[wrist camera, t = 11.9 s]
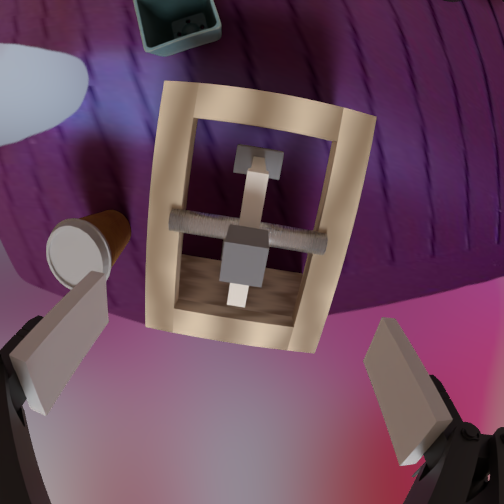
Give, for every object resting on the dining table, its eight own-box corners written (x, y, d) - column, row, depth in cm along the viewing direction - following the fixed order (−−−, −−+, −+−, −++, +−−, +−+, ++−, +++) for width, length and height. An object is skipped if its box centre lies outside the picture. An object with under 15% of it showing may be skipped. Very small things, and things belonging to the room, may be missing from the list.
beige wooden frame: (334, 122, 38) (380, 116, 23) (299, 285, 47) (315, 359, 31) (199, 99, 38) (161, 78, 22) (179, 266, 46) (142, 332, 30)
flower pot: (154, 17, 33) (131, -6, 25) (214, -3, 32) (204, -31, 24) (167, 67, 36) (144, 53, 28) (230, 48, 35) (222, 27, 27)
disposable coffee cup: (125, 189, 42) (84, 209, 31) (150, 248, 45) (119, 284, 34) (77, 212, 44) (32, 237, 32) (102, 266, 47) (65, 302, 36)
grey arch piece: (282, 151, 34) (299, 175, 19) (262, 258, 40) (262, 345, 24) (238, 144, 34) (219, 161, 19) (222, 252, 39) (199, 335, 24)
